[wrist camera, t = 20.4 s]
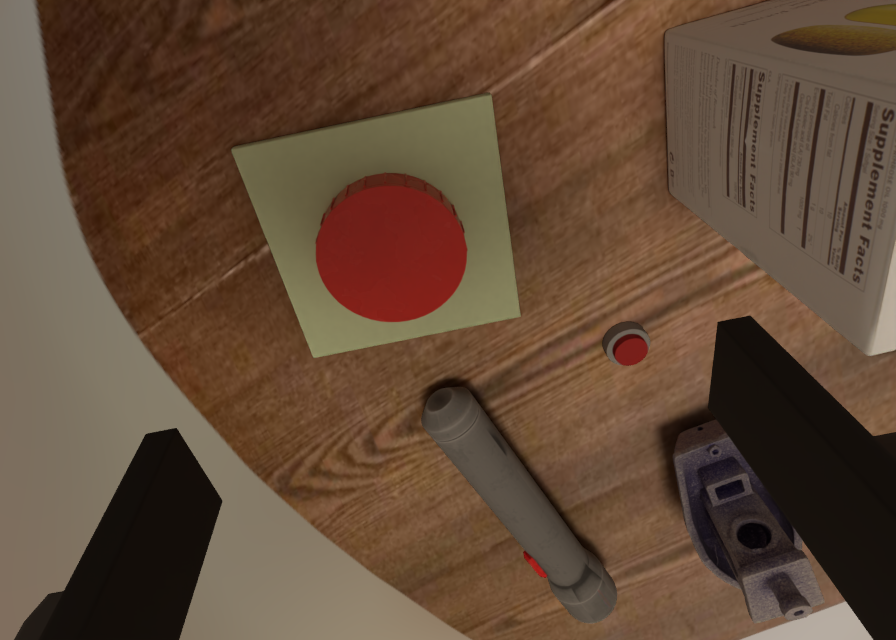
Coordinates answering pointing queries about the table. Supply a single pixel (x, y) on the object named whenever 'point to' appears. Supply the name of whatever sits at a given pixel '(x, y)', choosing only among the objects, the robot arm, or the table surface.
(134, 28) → the table surface
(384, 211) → the lid
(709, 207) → the supplement box
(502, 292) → the mat
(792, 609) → the toy boat
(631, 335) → the push button
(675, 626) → the table surface
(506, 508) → the flashlight
